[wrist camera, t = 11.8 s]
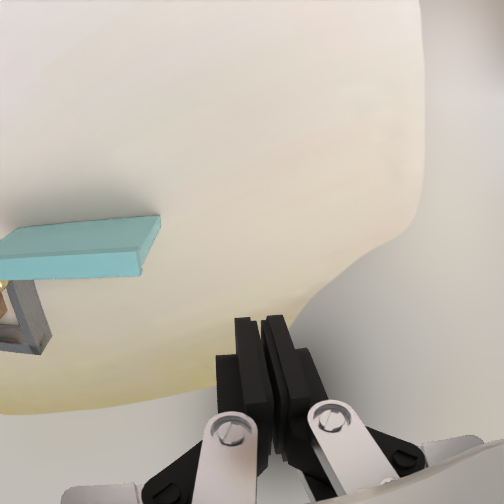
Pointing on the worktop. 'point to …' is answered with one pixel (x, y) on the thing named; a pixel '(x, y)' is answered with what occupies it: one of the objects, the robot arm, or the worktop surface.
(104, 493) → the robot arm
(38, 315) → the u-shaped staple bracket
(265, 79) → the worktop surface
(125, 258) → the flat teal rectangular block
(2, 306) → the block
